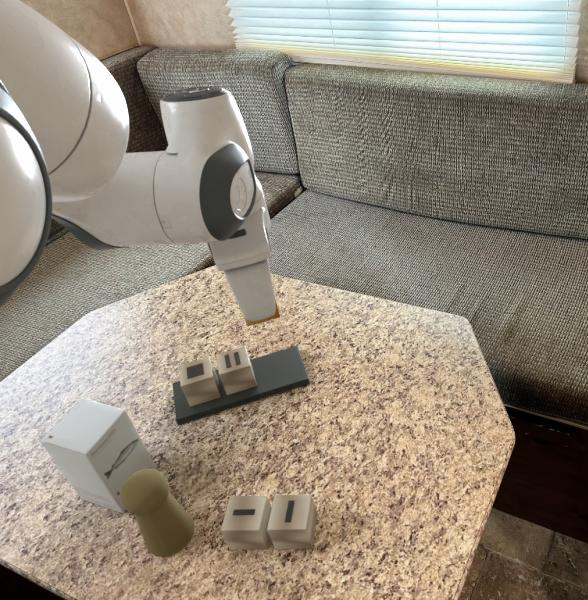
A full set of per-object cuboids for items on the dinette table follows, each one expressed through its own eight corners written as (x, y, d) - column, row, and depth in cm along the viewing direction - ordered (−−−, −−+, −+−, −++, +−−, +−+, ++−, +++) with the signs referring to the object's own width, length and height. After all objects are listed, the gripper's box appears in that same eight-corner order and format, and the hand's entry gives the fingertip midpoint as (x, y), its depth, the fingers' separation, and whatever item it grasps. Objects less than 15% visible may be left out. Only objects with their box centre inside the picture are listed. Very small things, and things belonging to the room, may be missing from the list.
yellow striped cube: (274, 297, 87) (267, 272, 84) (280, 317, 83) (273, 291, 80) (242, 306, 86) (234, 281, 83) (247, 326, 82) (238, 301, 79)
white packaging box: (124, 515, 78) (84, 456, 70) (80, 499, 80) (36, 440, 72) (160, 469, 83) (126, 408, 75) (118, 455, 86) (81, 395, 78)
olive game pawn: (155, 512, 78) (124, 460, 71) (201, 511, 78) (174, 459, 71) (138, 557, 73) (103, 507, 66) (187, 556, 73) (156, 506, 66)
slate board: (298, 350, 99) (297, 345, 99) (310, 383, 93) (308, 378, 93) (174, 387, 95) (172, 382, 94) (178, 425, 89) (175, 419, 88)
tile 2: (252, 366, 96) (245, 345, 93) (257, 386, 92) (250, 365, 89) (223, 375, 95) (215, 354, 92) (227, 395, 91) (218, 374, 88)
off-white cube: (274, 515, 76) (266, 494, 74) (267, 549, 73) (258, 529, 70) (239, 515, 77) (229, 495, 74) (230, 550, 73) (220, 530, 70)
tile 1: (217, 376, 94) (209, 355, 92) (220, 397, 91) (212, 376, 88) (187, 385, 94) (178, 364, 91) (189, 406, 90) (180, 385, 87)
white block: (317, 514, 76) (311, 493, 73) (312, 549, 72) (305, 528, 70) (281, 514, 76) (274, 494, 73) (274, 549, 73) (266, 529, 70)
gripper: (198, 186, 82) (225, 268, 90) (215, 269, 66) (246, 357, 75) (245, 175, 83) (267, 257, 92) (272, 254, 68) (295, 343, 77)
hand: (258, 303), depth 83 cm, fingers closed on yellow striped cube, 4 cm apart
